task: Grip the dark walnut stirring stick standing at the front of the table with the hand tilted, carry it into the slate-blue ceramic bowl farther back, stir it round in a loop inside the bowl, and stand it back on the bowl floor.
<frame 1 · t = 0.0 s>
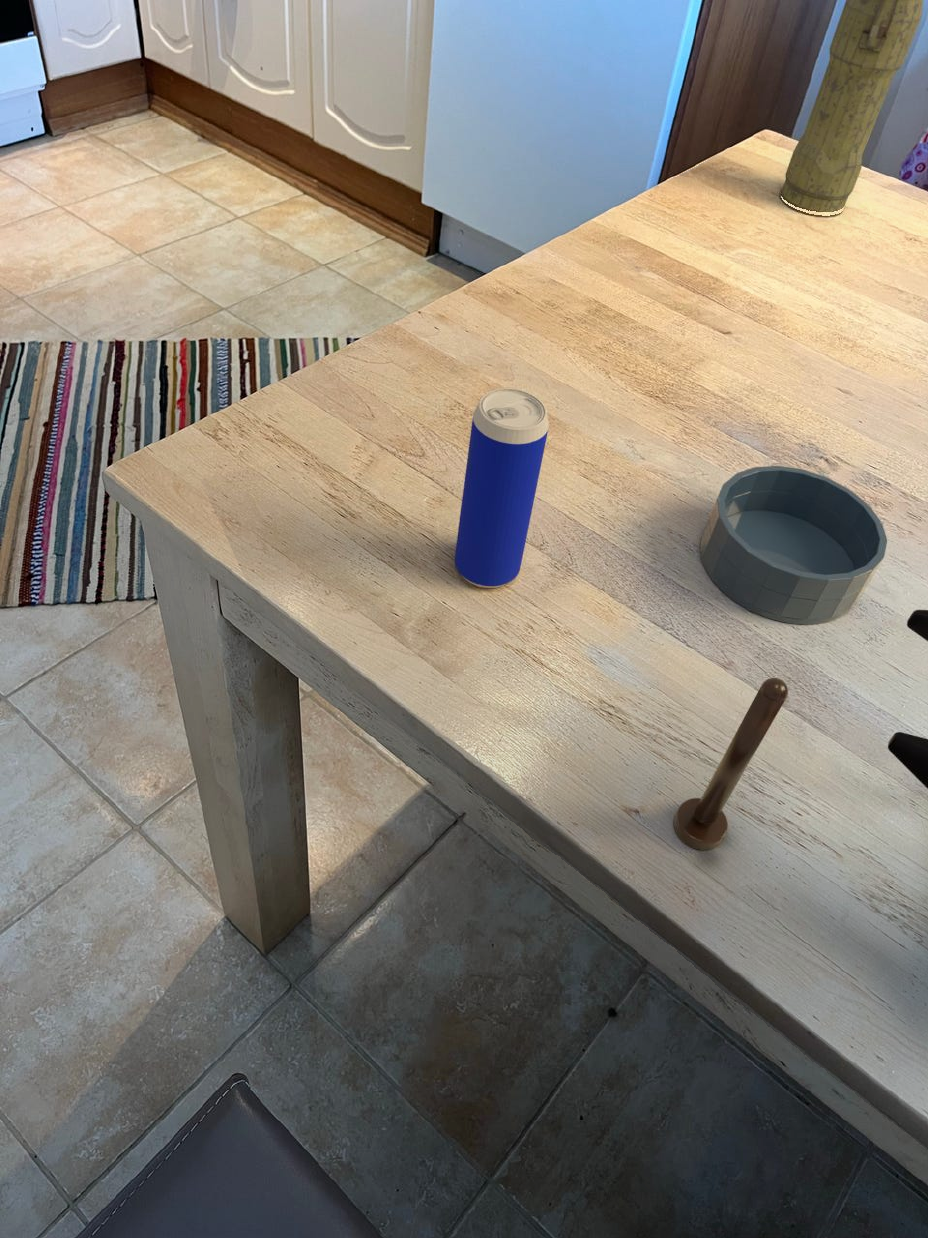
hand: (901, 674, 49), 16 cm above the table, tool horizontal, fingers open, 9 cm apart
bowl: (779, 564, 78), on the table
thermos: (810, 203, 128), on the table
stirrer: (698, 827, 60), on the table
beverage can: (486, 570, 74), on the table
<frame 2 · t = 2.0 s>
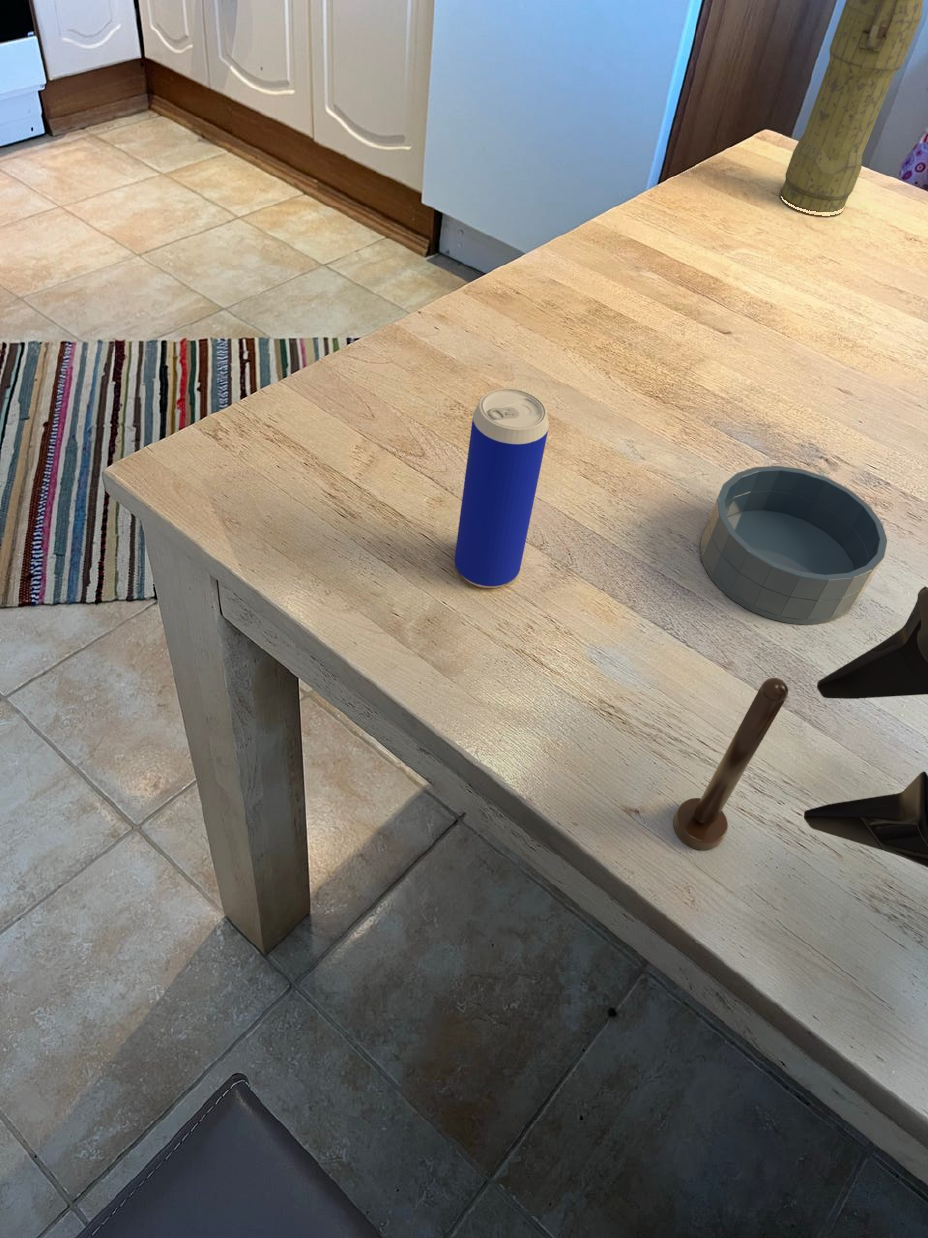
hand: (813, 751, 52), 10 cm above the table, tool tilted 45°, fingers open, 9 cm apart
nothing on the table moved.
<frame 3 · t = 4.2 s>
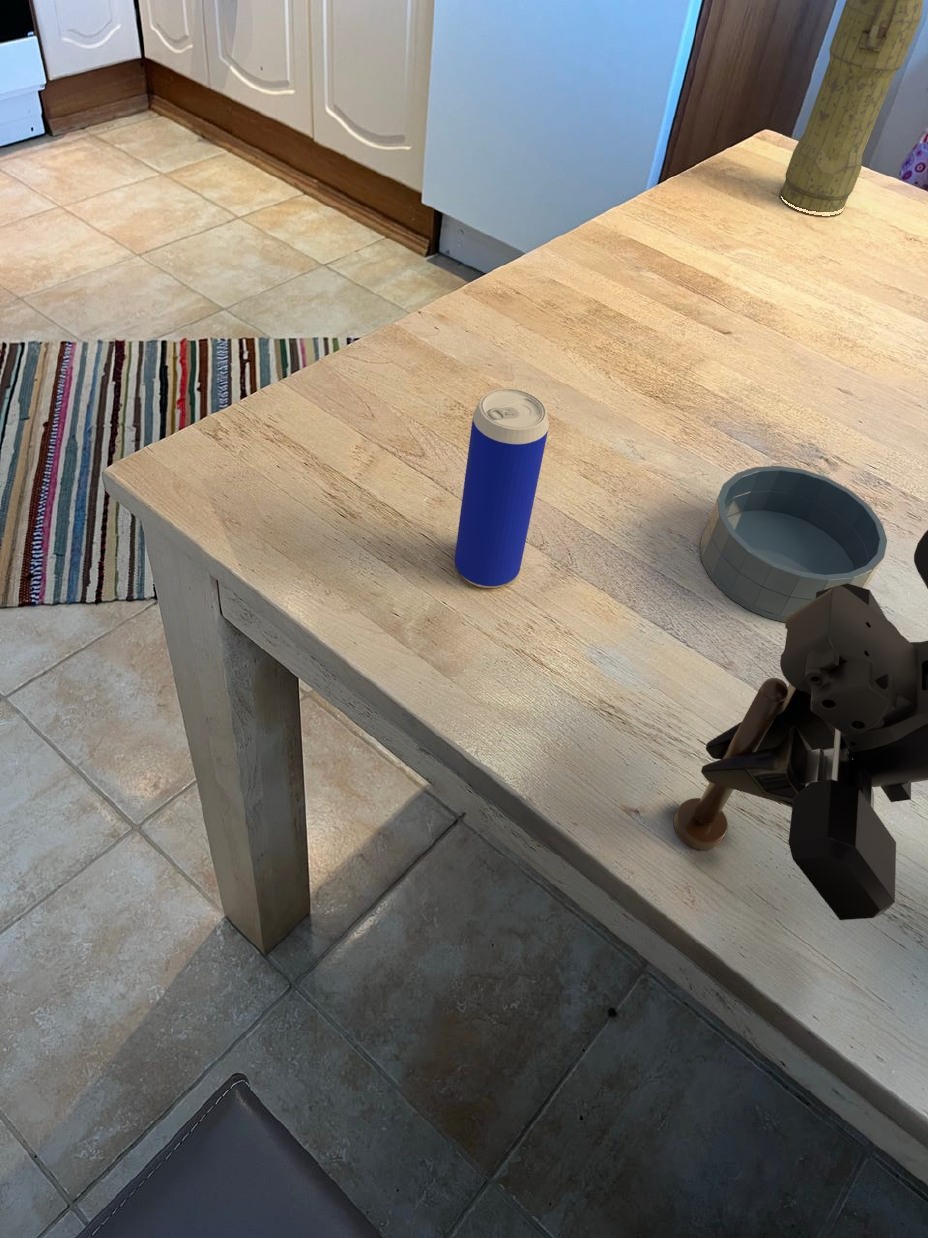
hand: (706, 762, 55), 7 cm above the table, tool tilted 45°, fingers closed on stirrer
stirrer: (698, 827, 60), on the table, touching gripper
everything else where it was.
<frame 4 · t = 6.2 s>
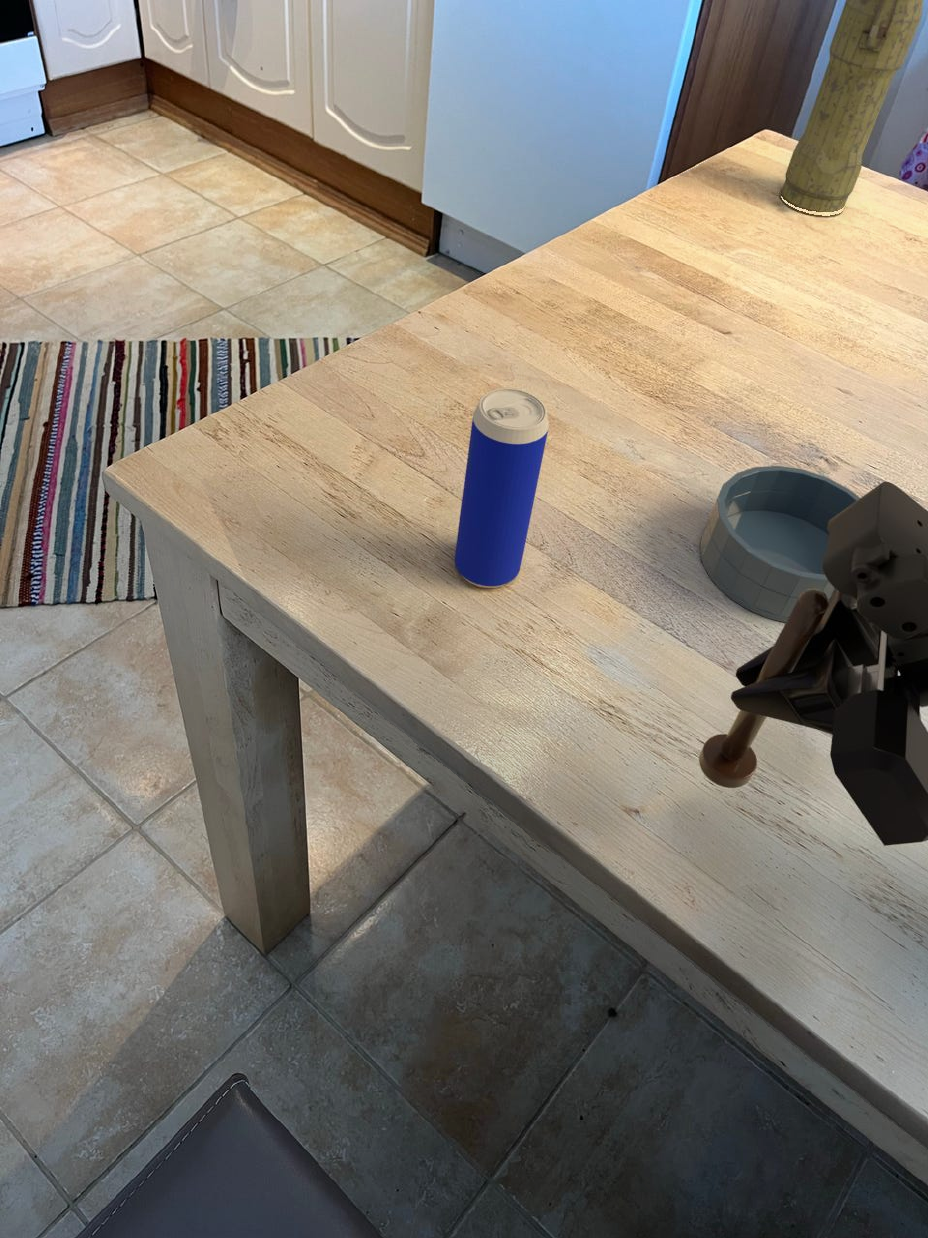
hand: (736, 689, 52), 13 cm above the table, tool tilted 45°, fingers closed on stirrer
stirrer: (725, 765, 56), point 6 cm above the table, touching gripper
everything else where it was.
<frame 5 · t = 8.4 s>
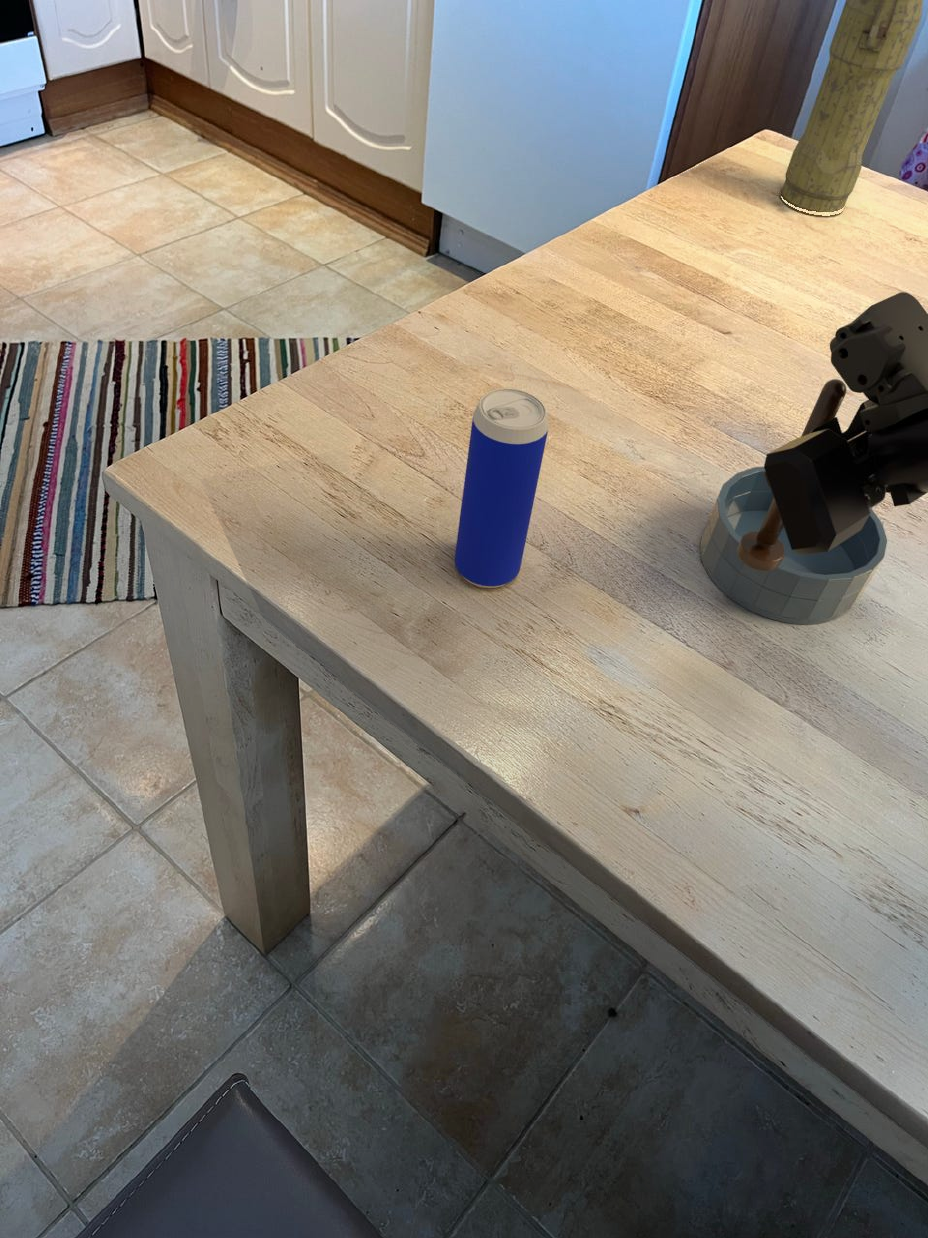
hand: (775, 474, 64), 13 cm above the table, tool tilted 45°, fingers closed on stirrer
stirrer: (758, 555, 69), point 6 cm above the table, touching gripper
everything else where it was.
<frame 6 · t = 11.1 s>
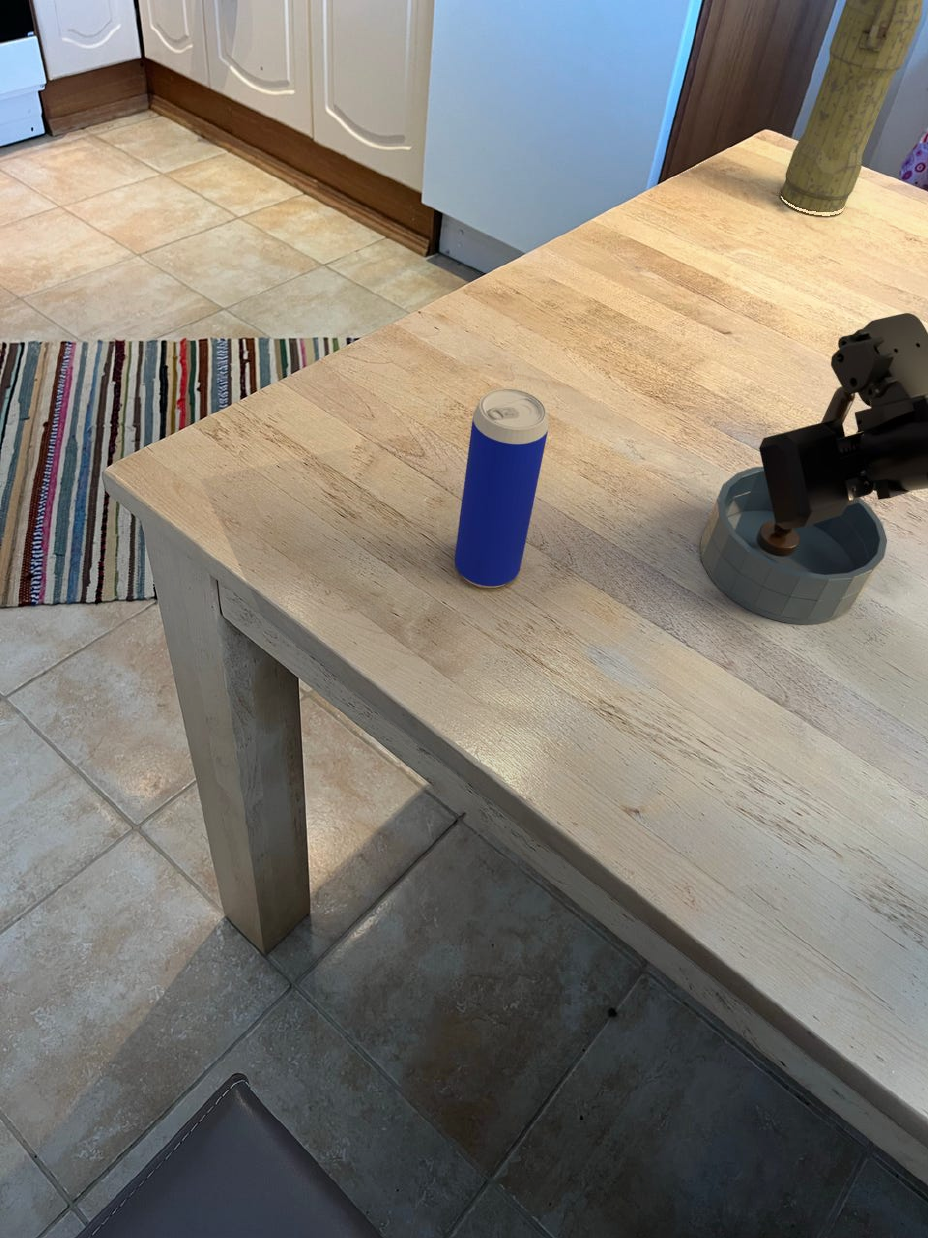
hand: (793, 469, 72), 9 cm above the table, tool tilted 45°, fingers closed on stirrer
stirrer: (775, 543, 76), point 2 cm above the table, touching gripper
everything else where it was.
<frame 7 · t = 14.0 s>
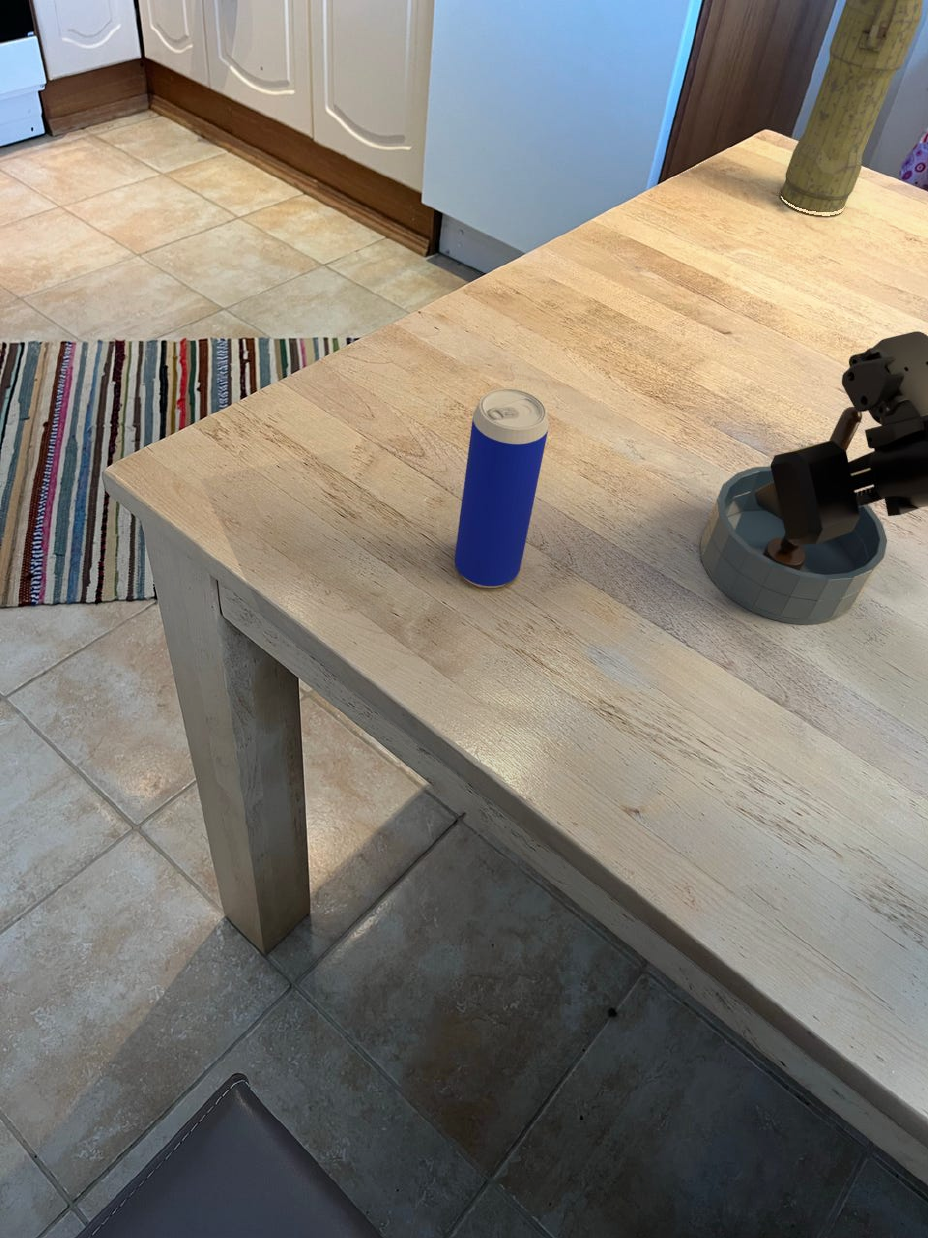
hand: (802, 483, 73), 8 cm above the table, tool tilted 45°, fingers open, 9 cm apart
stirrer: (782, 559, 77), point 1 cm above the table, touching bowl
everything else where it was.
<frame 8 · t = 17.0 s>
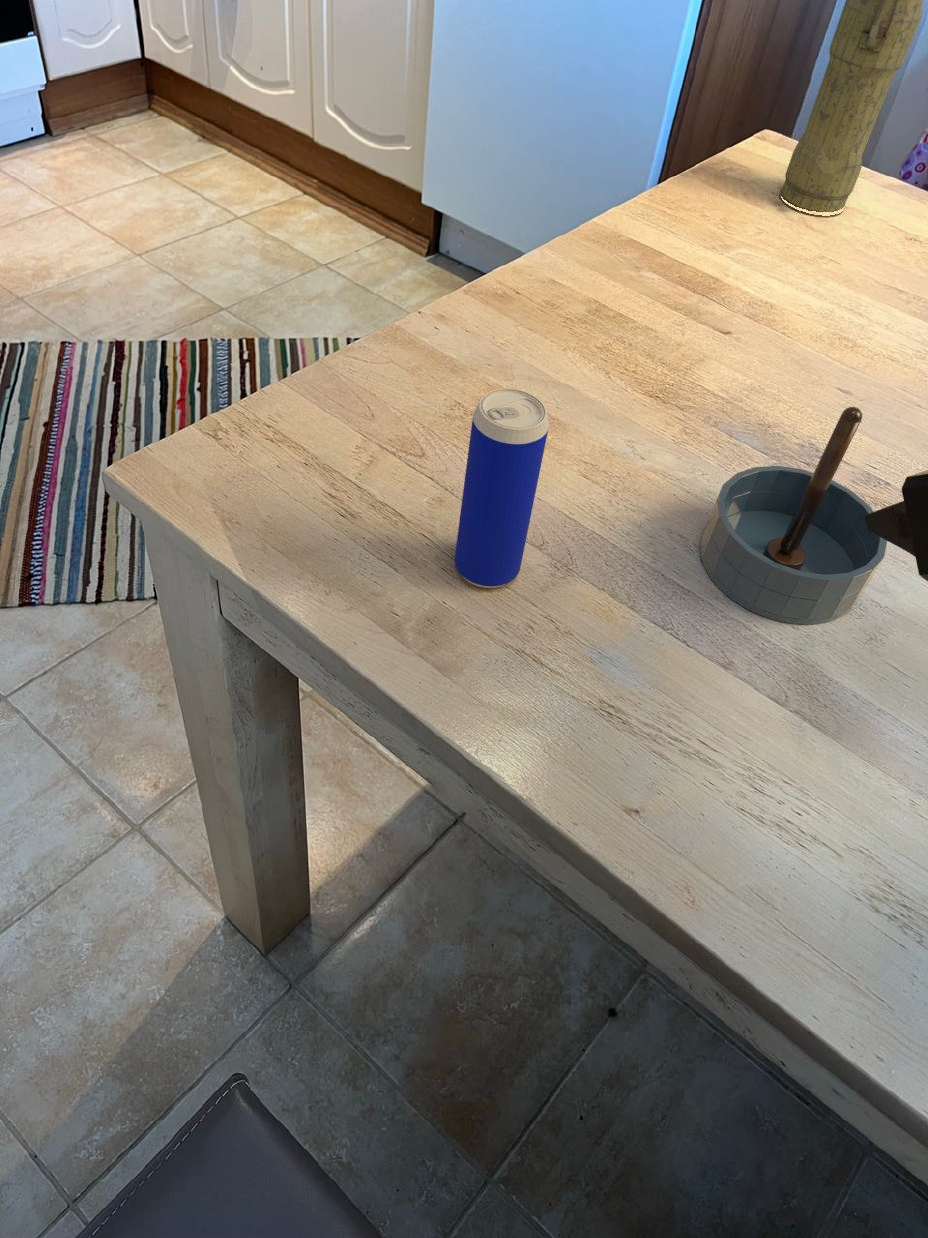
hand: (916, 505, 64), 13 cm above the table, tool tilted 45°, fingers open, 9 cm apart
nothing on the table moved.
at the end: stirrer inside the target area in the bowl (0.0 cm from its centre), point 0.6 cm above the bowl's base; stirrer tilted 0°; the gripper is holding nothing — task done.
